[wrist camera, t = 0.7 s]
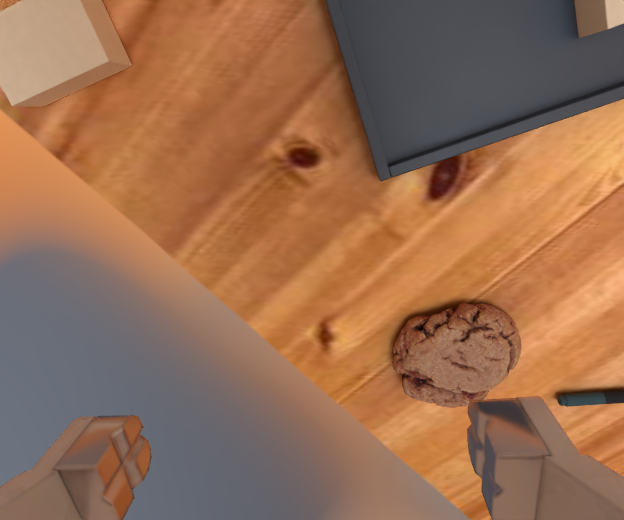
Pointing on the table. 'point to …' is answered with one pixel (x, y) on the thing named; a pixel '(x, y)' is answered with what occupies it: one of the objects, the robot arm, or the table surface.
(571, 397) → the pen
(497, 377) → the cookie
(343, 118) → the table surface
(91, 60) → the beige rectangular block
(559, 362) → the table surface
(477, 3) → the backing tray
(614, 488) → the robot arm
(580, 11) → the pad
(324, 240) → the table surface
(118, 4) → the table surface
